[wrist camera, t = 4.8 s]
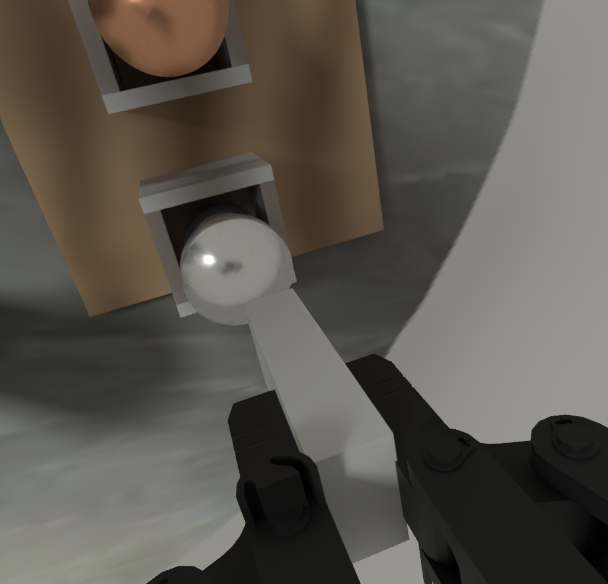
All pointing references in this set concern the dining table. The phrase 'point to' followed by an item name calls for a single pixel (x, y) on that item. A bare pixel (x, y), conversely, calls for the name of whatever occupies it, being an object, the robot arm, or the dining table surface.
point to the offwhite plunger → (231, 262)
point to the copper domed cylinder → (162, 32)
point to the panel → (188, 138)
